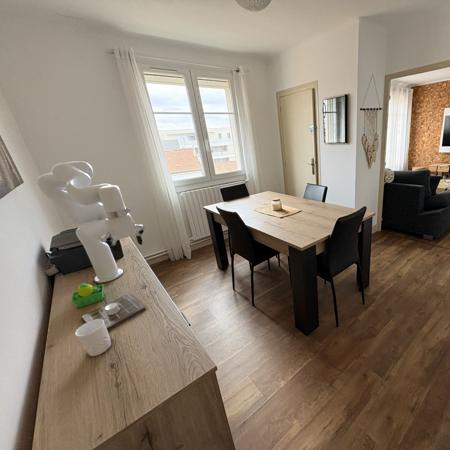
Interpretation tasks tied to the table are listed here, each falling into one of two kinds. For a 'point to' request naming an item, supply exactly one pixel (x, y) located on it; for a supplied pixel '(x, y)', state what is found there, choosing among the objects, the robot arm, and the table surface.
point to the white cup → (94, 337)
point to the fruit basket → (87, 295)
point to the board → (127, 310)
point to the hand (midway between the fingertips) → (129, 248)
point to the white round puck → (112, 308)
